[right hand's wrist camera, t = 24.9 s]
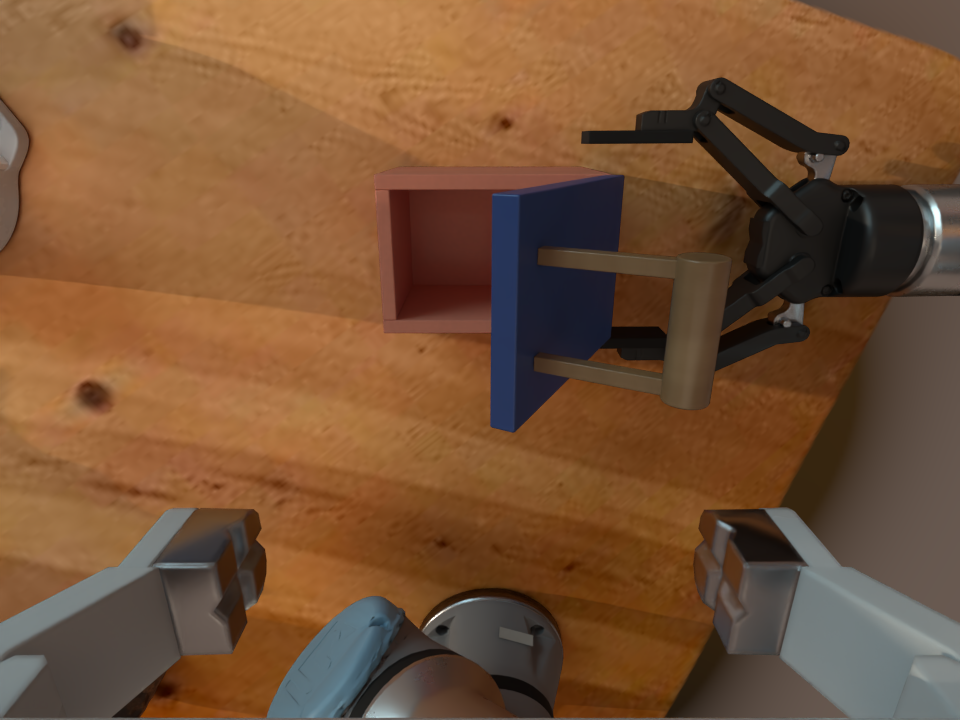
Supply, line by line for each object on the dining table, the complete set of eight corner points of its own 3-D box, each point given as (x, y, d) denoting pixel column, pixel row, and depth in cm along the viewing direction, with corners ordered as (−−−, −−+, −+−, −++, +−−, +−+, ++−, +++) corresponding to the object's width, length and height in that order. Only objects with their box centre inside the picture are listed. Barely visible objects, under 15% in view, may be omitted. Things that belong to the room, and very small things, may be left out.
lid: (489, 427, 25) (693, 477, 21) (490, 193, 21) (734, 204, 18) (592, 335, 37) (734, 356, 33) (604, 174, 33) (764, 178, 30)
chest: (404, 292, 47) (383, 333, 37) (397, 166, 44) (373, 174, 34) (574, 292, 47) (599, 333, 37) (582, 166, 44) (612, 174, 34)
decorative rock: (136, 715, 64) (73, 822, 54) (86, 691, 63) (11, 796, 53) (186, 652, 61) (128, 753, 51) (134, 625, 60) (63, 723, 50)
